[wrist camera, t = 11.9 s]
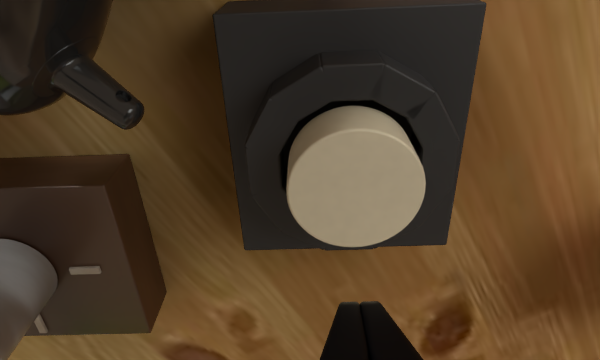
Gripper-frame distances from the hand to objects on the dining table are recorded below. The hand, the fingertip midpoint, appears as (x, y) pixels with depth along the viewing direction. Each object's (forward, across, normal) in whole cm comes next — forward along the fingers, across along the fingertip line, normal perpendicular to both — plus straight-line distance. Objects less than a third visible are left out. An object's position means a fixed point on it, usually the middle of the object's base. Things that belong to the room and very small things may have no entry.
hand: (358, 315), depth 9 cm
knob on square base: (+12, 0, 0) cm, 12 cm away
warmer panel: (+12, +15, +6) cm, 20 cm away
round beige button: (+7, -1, 0) cm, 7 cm away
